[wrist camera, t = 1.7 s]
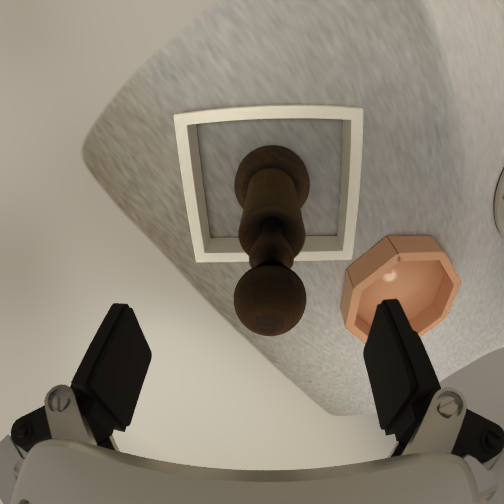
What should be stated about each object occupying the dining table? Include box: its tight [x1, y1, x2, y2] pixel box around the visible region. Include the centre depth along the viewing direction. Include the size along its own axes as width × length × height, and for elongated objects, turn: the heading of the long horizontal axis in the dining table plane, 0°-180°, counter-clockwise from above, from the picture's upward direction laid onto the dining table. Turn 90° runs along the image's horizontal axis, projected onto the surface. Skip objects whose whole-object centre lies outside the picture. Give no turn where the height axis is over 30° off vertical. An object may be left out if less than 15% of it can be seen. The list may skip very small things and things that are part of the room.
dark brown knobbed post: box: [234, 145, 309, 336], centre depth 18 cm, size 7×6×18 cm
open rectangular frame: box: [174, 104, 363, 262], centre depth 25 cm, size 15×14×3 cm
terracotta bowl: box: [340, 235, 461, 344], centre depth 30 cm, size 14×14×4 cm
